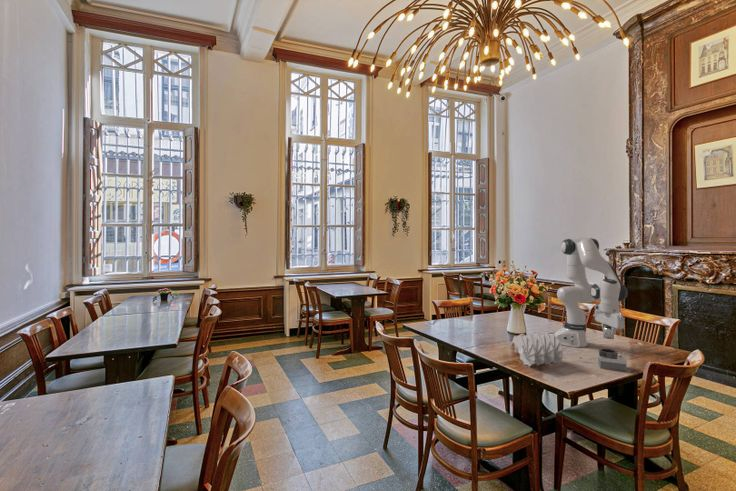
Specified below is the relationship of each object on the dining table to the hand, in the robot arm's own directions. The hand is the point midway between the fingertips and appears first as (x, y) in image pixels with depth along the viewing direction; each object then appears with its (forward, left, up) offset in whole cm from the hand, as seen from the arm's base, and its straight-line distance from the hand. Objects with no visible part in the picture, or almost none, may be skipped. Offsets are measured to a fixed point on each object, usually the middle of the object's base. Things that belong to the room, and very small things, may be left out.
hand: (608, 333), depth 212 cm
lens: (0, 0, -3) cm, 3 cm away
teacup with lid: (-46, +5, -19) cm, 50 cm away
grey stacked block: (+2, 0, -19) cm, 19 cm away
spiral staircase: (-35, -12, -19) cm, 42 cm away
